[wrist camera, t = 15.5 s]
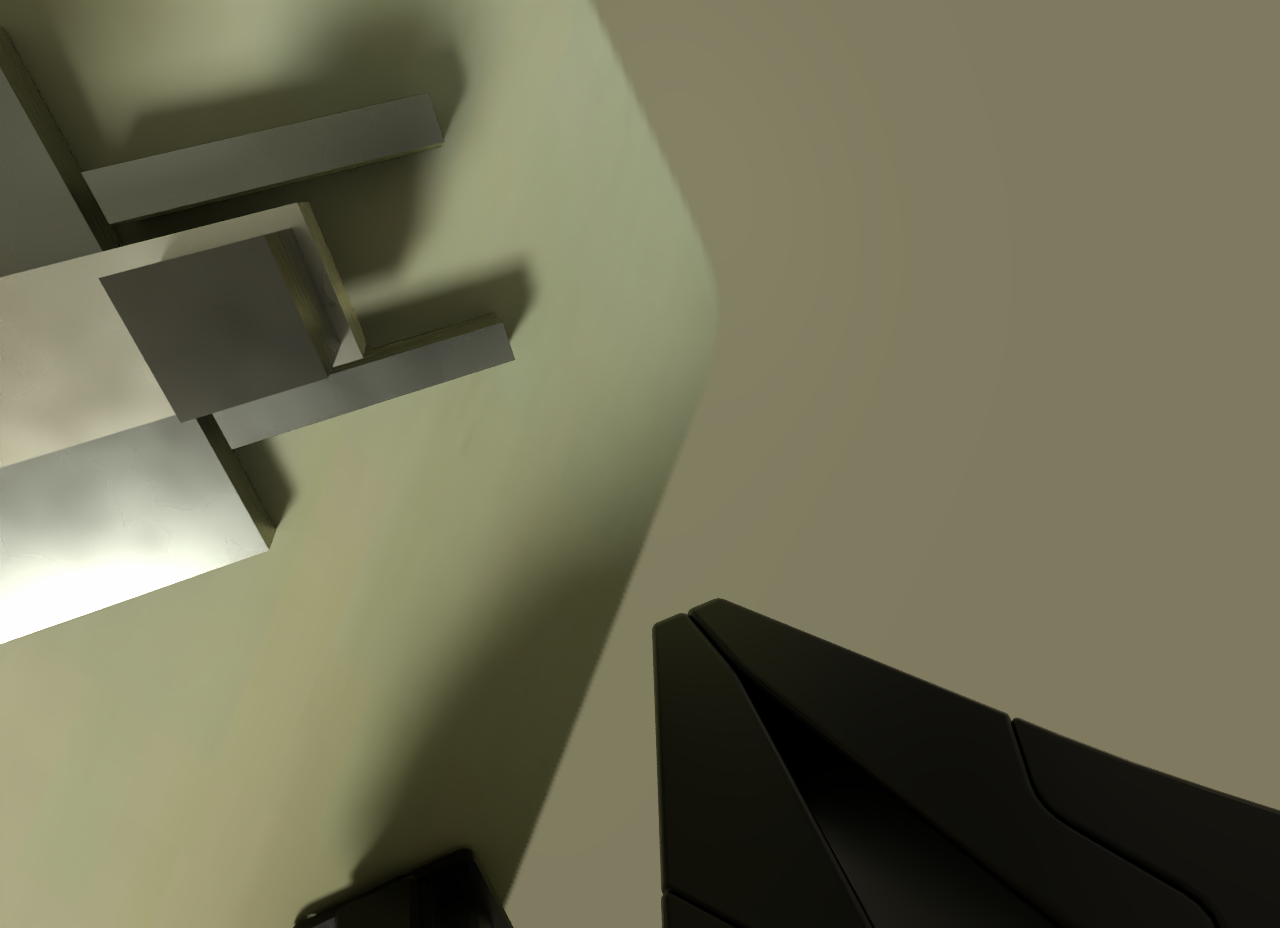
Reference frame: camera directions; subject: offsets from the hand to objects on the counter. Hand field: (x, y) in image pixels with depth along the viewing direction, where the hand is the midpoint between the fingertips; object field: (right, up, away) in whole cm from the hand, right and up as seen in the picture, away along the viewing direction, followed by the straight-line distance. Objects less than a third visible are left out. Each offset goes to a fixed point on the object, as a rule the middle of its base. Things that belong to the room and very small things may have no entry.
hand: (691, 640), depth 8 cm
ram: (-12, +5, +7) cm, 14 cm away
